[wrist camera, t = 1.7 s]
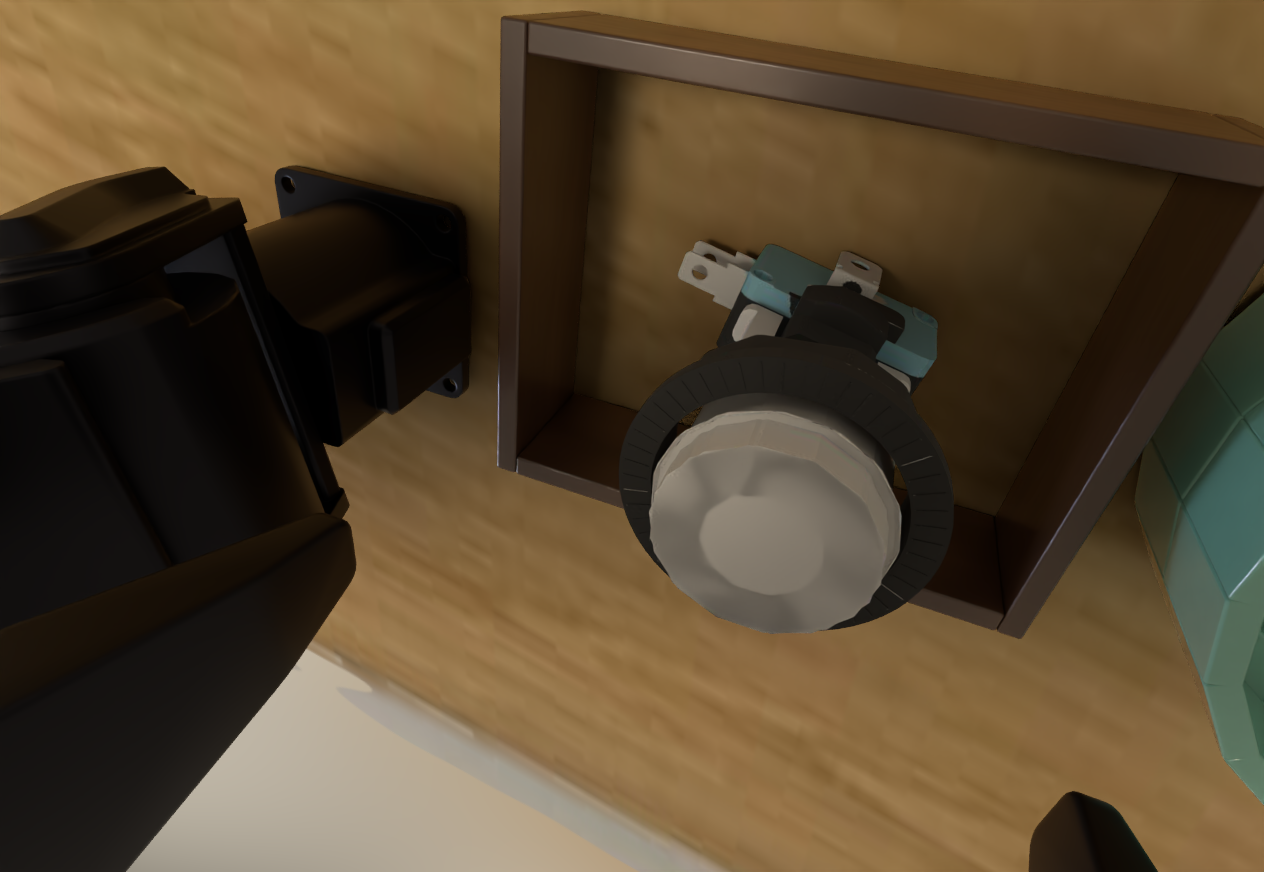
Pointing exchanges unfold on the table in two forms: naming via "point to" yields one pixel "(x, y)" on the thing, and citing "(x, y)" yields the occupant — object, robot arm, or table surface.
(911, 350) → the push button
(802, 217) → the table surface
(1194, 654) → the teal wide round container
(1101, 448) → the wooden box
